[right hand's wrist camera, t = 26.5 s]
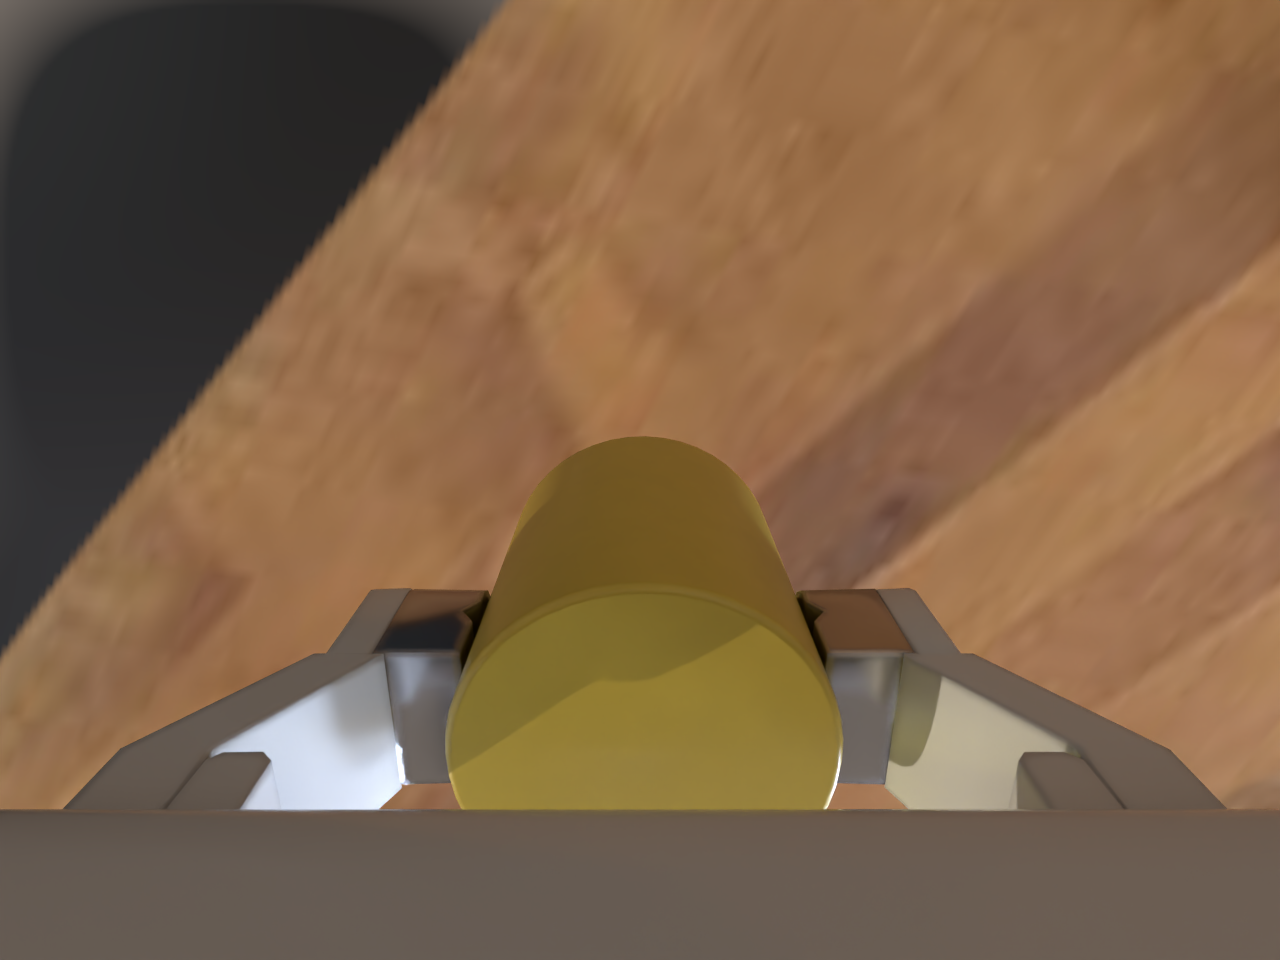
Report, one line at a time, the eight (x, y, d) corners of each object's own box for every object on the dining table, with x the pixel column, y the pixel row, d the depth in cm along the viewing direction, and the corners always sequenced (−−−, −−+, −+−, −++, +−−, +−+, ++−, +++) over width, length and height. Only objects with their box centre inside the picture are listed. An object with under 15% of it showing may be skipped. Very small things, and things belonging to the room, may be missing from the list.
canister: (621, 381, 11) (610, 501, 7) (821, 538, 12) (930, 738, 8) (465, 573, 12) (365, 786, 8) (659, 704, 13) (670, 964, 9)
